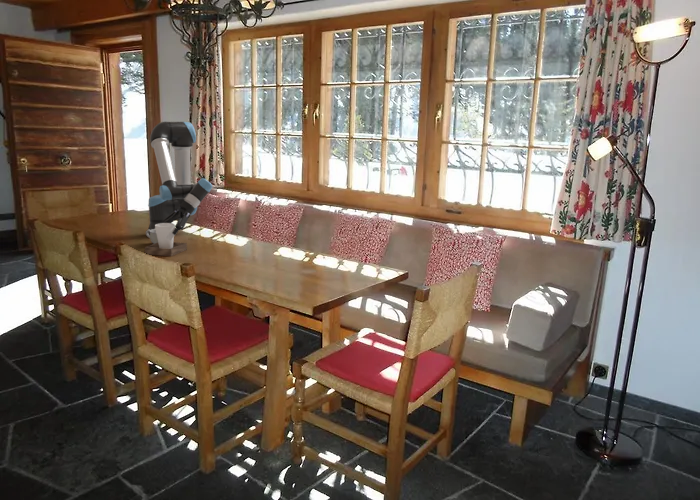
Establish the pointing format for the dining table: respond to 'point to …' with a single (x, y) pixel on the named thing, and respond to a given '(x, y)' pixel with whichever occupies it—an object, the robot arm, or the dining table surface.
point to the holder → (156, 250)
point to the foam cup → (164, 235)
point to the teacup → (152, 236)
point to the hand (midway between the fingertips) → (162, 236)
